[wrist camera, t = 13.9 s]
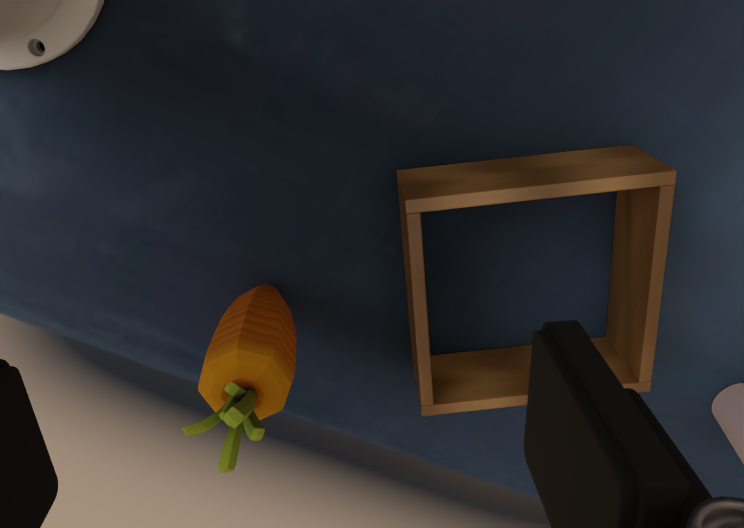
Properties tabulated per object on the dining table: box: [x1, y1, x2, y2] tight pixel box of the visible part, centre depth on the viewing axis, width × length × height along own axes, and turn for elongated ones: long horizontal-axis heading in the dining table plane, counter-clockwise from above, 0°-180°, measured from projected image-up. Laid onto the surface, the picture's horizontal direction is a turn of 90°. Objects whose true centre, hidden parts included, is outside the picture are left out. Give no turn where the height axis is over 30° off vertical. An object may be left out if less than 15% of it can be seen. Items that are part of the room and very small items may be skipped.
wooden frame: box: [396, 145, 677, 416], centre depth 39 cm, size 15×15×6 cm
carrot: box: [182, 284, 296, 472], centre depth 34 cm, size 5×5×15 cm
